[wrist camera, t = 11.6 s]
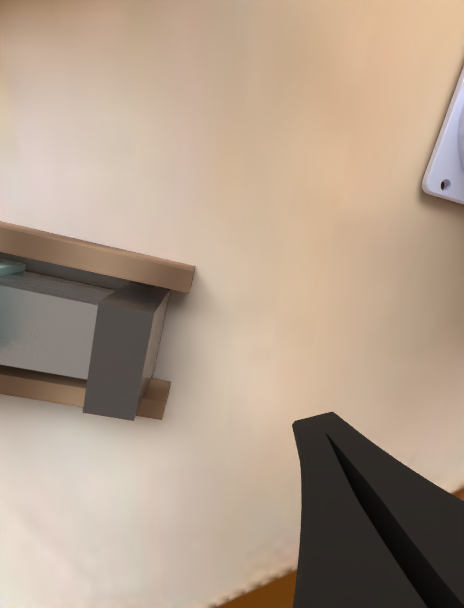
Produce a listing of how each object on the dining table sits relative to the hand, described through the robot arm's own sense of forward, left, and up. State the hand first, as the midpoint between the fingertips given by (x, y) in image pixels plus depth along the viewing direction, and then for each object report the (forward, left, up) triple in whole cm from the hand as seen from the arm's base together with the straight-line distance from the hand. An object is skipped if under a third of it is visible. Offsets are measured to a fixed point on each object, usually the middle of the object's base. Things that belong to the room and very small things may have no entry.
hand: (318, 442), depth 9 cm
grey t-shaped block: (+10, 0, -7) cm, 12 cm away
